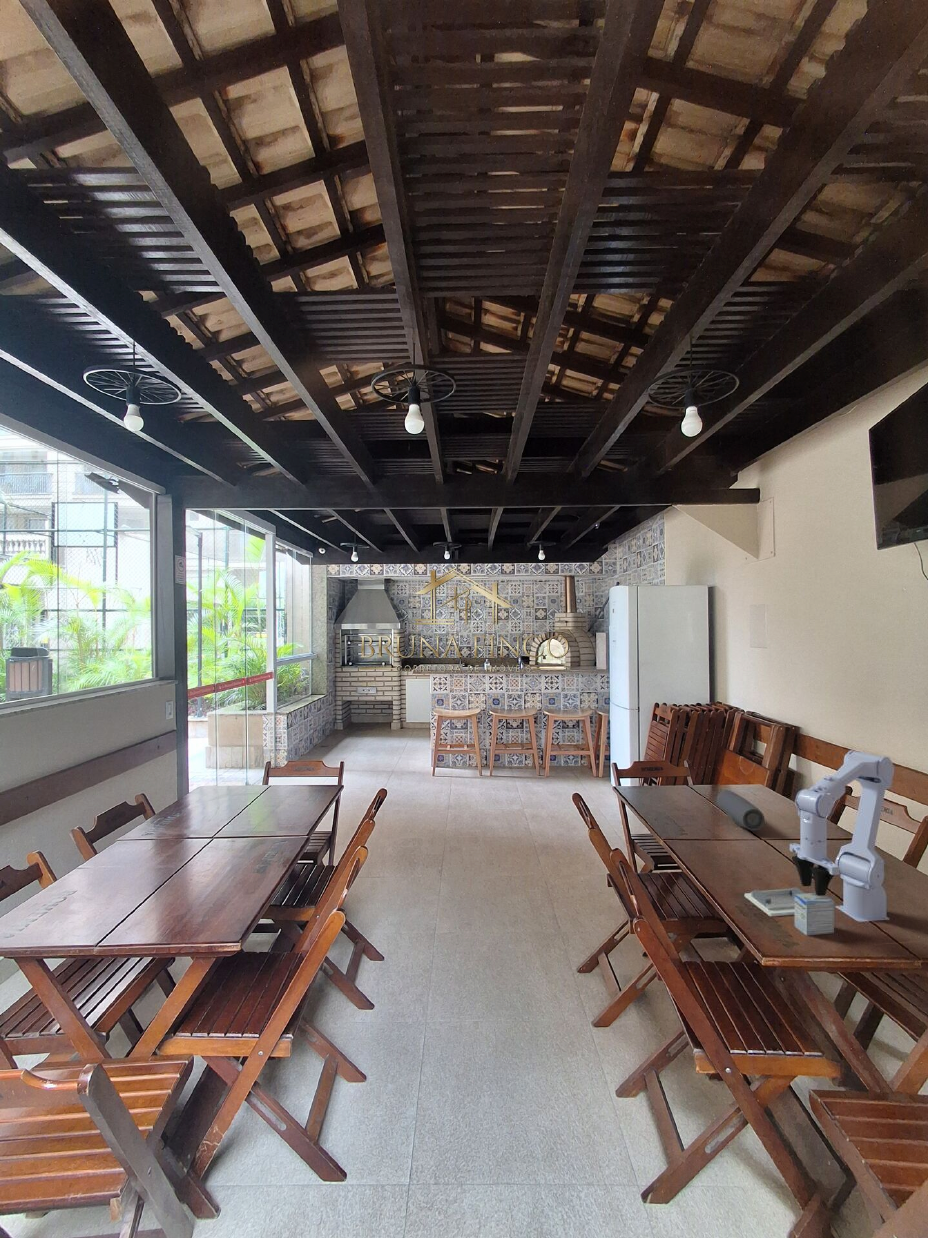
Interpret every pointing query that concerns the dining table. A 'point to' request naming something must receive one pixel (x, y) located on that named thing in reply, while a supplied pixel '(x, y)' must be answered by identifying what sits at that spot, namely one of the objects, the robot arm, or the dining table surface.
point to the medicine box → (814, 914)
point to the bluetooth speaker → (740, 810)
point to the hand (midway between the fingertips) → (813, 890)
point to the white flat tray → (775, 900)
